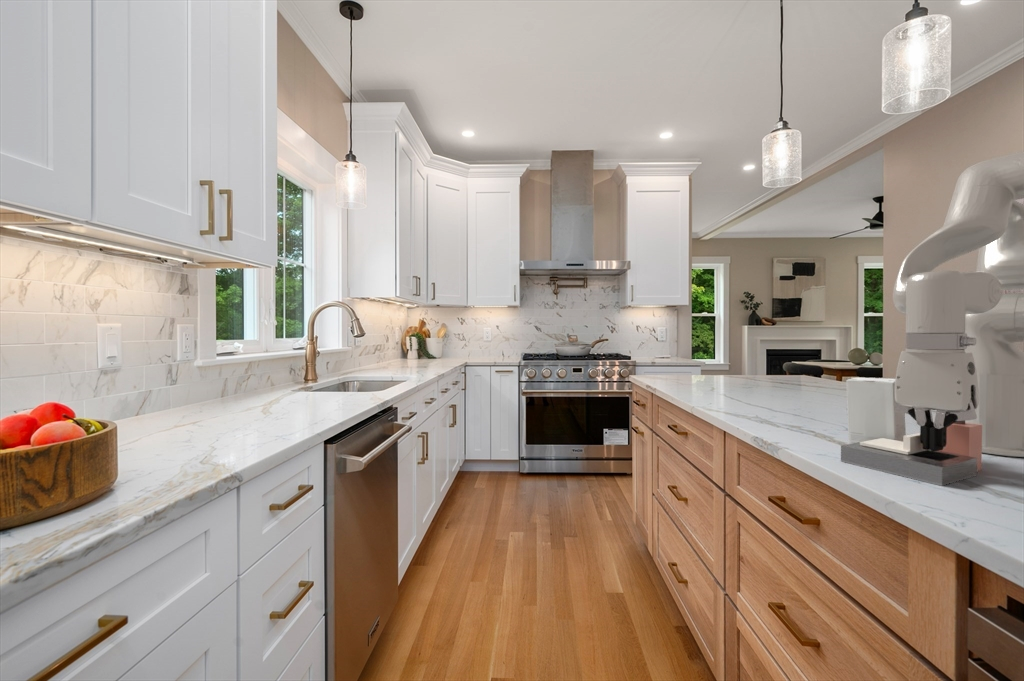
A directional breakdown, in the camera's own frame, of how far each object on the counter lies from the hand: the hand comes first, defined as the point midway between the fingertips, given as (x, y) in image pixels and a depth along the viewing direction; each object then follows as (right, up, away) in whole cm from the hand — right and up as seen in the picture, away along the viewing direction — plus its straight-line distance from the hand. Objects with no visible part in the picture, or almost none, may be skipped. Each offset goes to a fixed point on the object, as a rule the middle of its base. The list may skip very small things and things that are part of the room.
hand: (933, 449), depth 79 cm
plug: (+7, -4, +3) cm, 8 cm away
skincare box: (+1, -4, +14) cm, 15 cm away
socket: (-3, -4, +3) cm, 5 cm away
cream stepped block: (-2, -1, +5) cm, 6 cm away
